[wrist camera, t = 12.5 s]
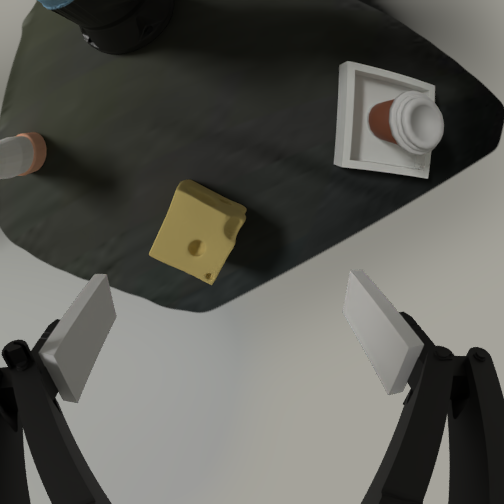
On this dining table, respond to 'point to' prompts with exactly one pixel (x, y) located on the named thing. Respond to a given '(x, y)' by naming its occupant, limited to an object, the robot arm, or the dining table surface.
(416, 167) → the white square tray
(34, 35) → the dining table surface
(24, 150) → the salt shaker
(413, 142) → the coffee cup
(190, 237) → the cheese
